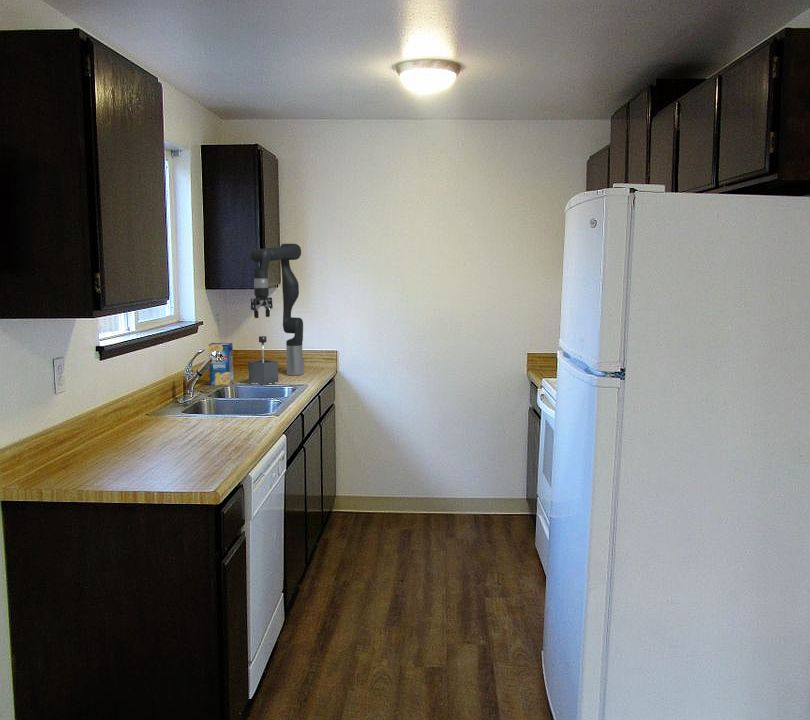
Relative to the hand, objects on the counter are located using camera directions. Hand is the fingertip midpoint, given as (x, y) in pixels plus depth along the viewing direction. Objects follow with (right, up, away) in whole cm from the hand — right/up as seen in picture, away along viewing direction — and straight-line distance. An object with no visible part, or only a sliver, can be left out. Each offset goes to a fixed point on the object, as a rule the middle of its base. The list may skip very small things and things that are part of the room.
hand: (262, 317), depth 394 cm
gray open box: (0, -35, +5) cm, 36 cm away
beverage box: (-22, -36, +2) cm, 42 cm away
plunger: (0, -26, +3) cm, 26 cm away
